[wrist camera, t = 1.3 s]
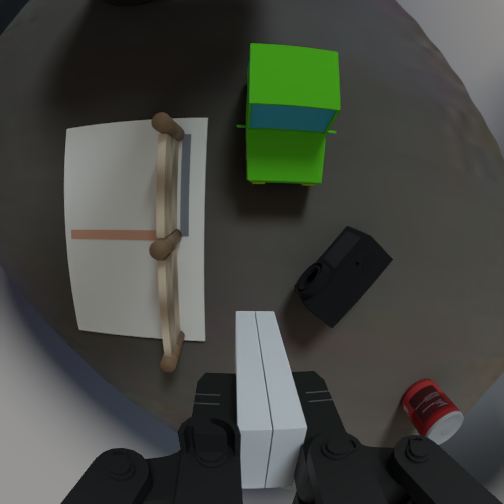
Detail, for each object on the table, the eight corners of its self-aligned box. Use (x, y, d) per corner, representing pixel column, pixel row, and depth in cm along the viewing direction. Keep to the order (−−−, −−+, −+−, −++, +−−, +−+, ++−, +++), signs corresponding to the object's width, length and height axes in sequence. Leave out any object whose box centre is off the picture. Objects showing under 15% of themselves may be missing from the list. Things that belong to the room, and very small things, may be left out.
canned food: (419, 410, 46) (444, 446, 35) (392, 408, 45) (417, 447, 34) (441, 380, 44) (471, 413, 33) (415, 375, 43) (446, 412, 32)
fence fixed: (170, 127, 32) (151, 112, 24) (185, 126, 32) (170, 111, 24) (167, 242, 35) (149, 259, 27) (182, 243, 35) (167, 260, 27)
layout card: (68, 129, 31) (66, 128, 31) (208, 118, 33) (207, 117, 32) (80, 327, 38) (78, 329, 37) (205, 338, 39) (204, 341, 38)
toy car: (235, 183, 35) (235, 183, 25) (237, 77, 32) (238, 43, 22) (320, 186, 35) (350, 188, 26) (320, 83, 32) (348, 54, 22)
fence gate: (166, 246, 35) (150, 261, 28) (181, 246, 35) (168, 262, 28) (172, 340, 38) (160, 371, 31) (185, 341, 38) (176, 373, 31)
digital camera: (341, 218, 36) (363, 226, 29) (369, 245, 37) (394, 259, 30) (287, 280, 38) (297, 302, 31) (317, 305, 39) (332, 329, 32)
